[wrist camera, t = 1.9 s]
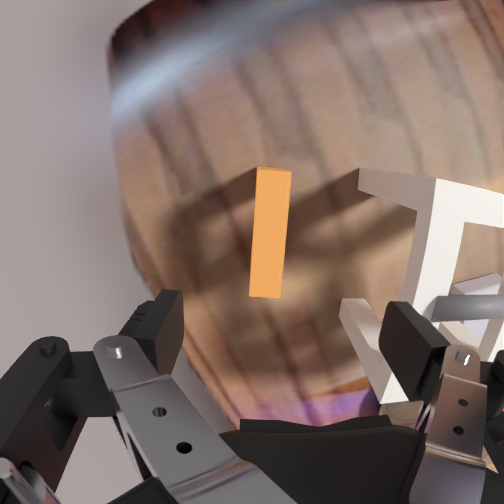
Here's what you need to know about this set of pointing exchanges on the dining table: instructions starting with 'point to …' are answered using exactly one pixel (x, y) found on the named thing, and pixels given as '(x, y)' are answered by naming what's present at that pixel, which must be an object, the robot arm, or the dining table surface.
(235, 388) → the dining table surface
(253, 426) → the robot arm
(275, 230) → the orange arch block
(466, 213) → the white square table frame
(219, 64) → the dining table surface
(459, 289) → the charger
